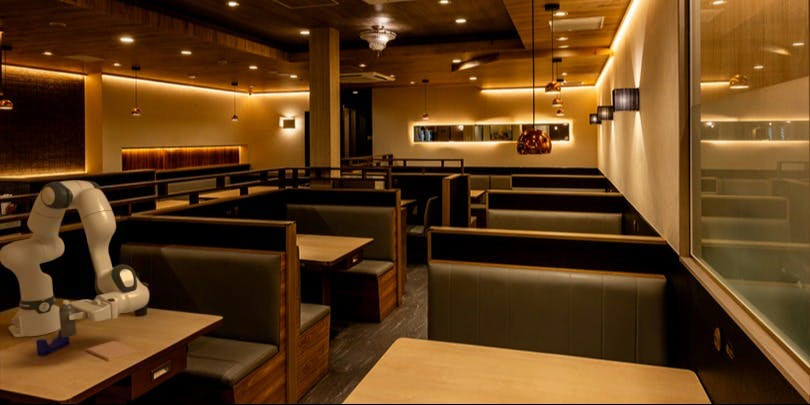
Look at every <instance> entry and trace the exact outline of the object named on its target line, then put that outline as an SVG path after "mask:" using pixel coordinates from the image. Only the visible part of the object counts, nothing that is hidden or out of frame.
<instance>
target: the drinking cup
mask: <svg viewBox="0 0 810 405" xmlns="http://www.w3.org/2000/svg"><path fill="white" fill-rule="evenodd" d="M136 272H137V273H136V277H137V278H138V280H139V281H140V271H139V270H137V271H136ZM140 282H141V281H140ZM141 284H143V285H144V286H146V287H147V288H148V289H149V283H146V282H141ZM133 312H134V316H135V317H145V316H147V314H148V303H147V304H146V305H145V306H144V307H142V308H140V309H137V310H134V311H133Z"/></svg>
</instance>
